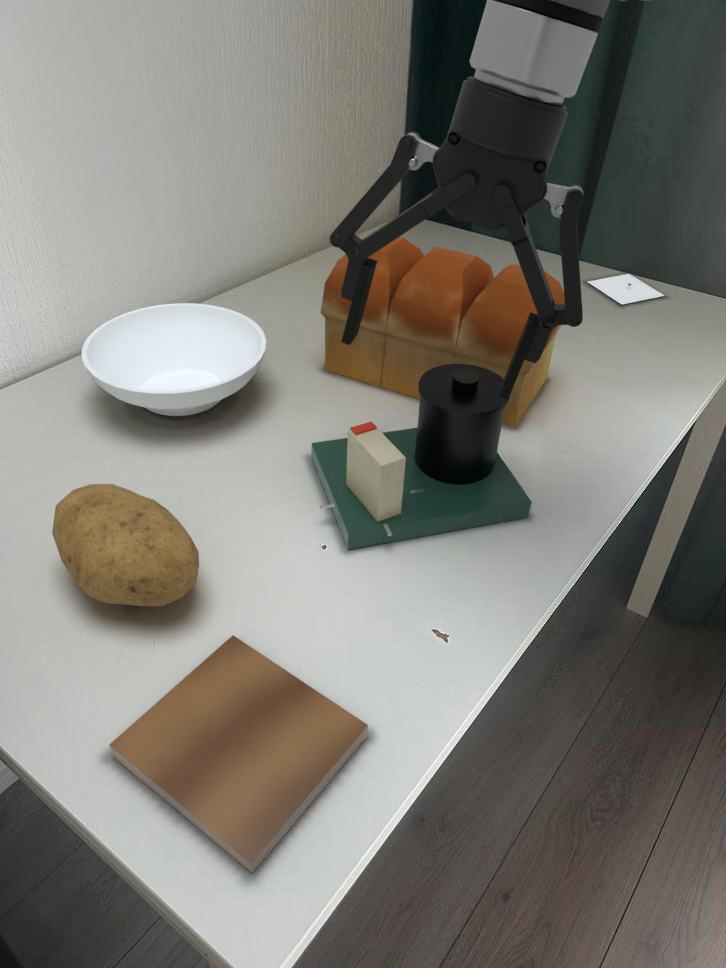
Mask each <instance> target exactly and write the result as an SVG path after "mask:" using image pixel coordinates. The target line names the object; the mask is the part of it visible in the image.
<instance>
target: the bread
mask: <svg viewBox="0 0 726 968" xmlns="http://www.w3.org/2000/svg"><path fill="white" fill-rule="evenodd" d="M368 258H371V259H373V260H376V261H377V265H376V269H375V272H374V276H373V280H372V283H371V287H370V291H369V294H368V298H367V302H366V305H365V309H364V312H363V316H362V320H361V323H360V327H359V331H358V334H357V336H356V337H355V339H354V340H353V341H352V343H351V344H350V345H347V344H345V343H342V342H341V341H342V337H343V333H344V329H345V326H346V322H347V318H348V314H349V310H350V307H351V303H352V301H350V300H347V299H344V298H342V295H341V289H342V285H343V281H344V277H345V273H346V269H347V266H348V257H347V255H346V253H344V255H343V256H342V257H340V258H339V259H338V260H337V261H336V263H335V265H334V266H333V268H332V270H331V272H330V273H329V275H328V277H327V278H326V280H325V282H324V287H323V293H322V298H321V300H322V301H321V307H320V315H321V316H322V317H324V370H325V371H327V372H331V373H334V374H338V375H341V376H344V377H347V378H350V379H353V380H357V381H360V382H364V383H366V384H369V385H373V386H376V387H379V388H383V389H385V390H390V391H392V392H396V393H399V394H402V395H406V396H407V397H408V396H409V397H412V398H414V399H418V400H420V395H419V392H418V384H419V380H420V378H421V376H422V375H423V374H424V373H425V372H427V371H428V370H430V369H432V368H434V367H437V366H441V365H446V364H469V365H475V366H479V367H483V368H486V369H488V370H491V371H493V372H495V373H496V374H498V375H499V376H501V377H502V378H503V379H504V377H505V375H506V372H507V370H508V367H509V365H510V362H511V360H512V357H513V355H514V352H515V350H516V347H517V345H518V342H519V340H520V337H521V334H522V332H523V329H524V327H525V324H526V322H527V319H528V317H529V314H530V312H531V313H534V314H537V315H538V313H537V310H536V308H535V305H534V302H533V299H532V297H531V294H530V291H529V288H528V286H527V283H526V280H525V277H524V275H523V272H522V269H521V266H520V264H517V263H514V262H513V263H511V264H509V265H507V266H506V267H504V268H502V269H501V270H500V272H498V274H497V275H496V276H495V275H494V272H493V269H492V267H491V265H490V264H489V263H488V262H486V261H485V260H484V259H482V258H481V257H479V256H478V255H474V254H469V253H465V252H461V251H457V250H452V249H448V248H444V247H440V246H434V247H433V248H431V249H430V250H429V251H428V252H427V253H426V254H424V252H423V251H422V249H421V248H420V247H418V246H417V245H415V244H414V243H412V242H411V241H409V240H408V239H406V238H405V237H402V236H400V237H398V238H397V239H395V240H394V241H392V242H390V243H389V244H387V245H386V246H384V247H383V248H381V249H380V250H378V251H377V252H375V253H374V254H372V255H371V256H369V257H368ZM544 273H545V276H546V278H547V281H548V284H549V287H550V290H551V293H552V295H553V298H554V301H555V304H565V297H564V288H563V285H562V284H561V282H560V281H559V280H557V278H555V277H554V276H552V275H551V274H550V273H548V272H547V271H545V270H544ZM561 327H562V325H559V326H556V327H555V328H554V329H553V330H552V331H551V334H550V336H549V338H548V341H547V343H546V346H545V348H544V350H543V353H542V355H541V357H540V359H539V360H538V361H537V362H536V363H532V362H529V361H526V360H524V362H523V364H522V367H521V369H520V372H519V374H518V377H517V379H516V382H515V384H514V386H513V389H512V391H511V395H510V400H509V403H508V404H507V406H506V407H505V410H504V415H503V420H502V426H505V427H509V428H511V429H515V428H516V427H517V425H518V424H519V422H520V421H521V419H522V418H523V416H524V415H525V413H526V412H527V411H528V409H529V407H530V405H531V404H532V402H533V401H534V400H535V398H536V396H537V394H539V392H540V390H541V389H542V387H543V386H544V384H545V382H547V378H548V373H549V368H550V365H551V360H552V355H553V350H554V347H555V342H556V337H557V332H559V330H560V328H561Z"/></svg>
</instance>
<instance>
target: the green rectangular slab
mask: <svg viewBox="0 0 726 968" xmlns="http://www.w3.org/2000/svg"><path fill="white" fill-rule="evenodd" d="M382 433H383V434H384V435H385V437H386V438H387V439H388V440H389V441H390V442H391V443H392V444H393V445H394V446H395V447H396V448H397V449H398V450H399V451H400V452H401V453H402V454H403V455H404V456H405V457H406V462H405V474H404V485H403V496H402V507H401V514H399V515H396V516H393V517H390V518H388V519H385V520H382V521H379V522H377V521H376V520H375V518H374V517H373V516H372V515H371V514H370V512H369V511H368V510H367V509H366V508H365V506H364V505H363V504H362V503H361V502H360V500H359V499H358V498H357V497H356V495H355V494H354V493H353V492H352V491H351V489H350V488H349V487H348V486H347V485H346V476H347V442H348V437H344V438H336V439H330V440H323V441H317V442H311V444H310V445H311V447H310V448H311V460H312V463H313V465H314V468H315V470H316V473H317V475H318V478H319V480H320V483H321V486H322V488H323V490H324V493H325V496H326V498H327V500H328V503H327V504H321V505H319V509H320V510H325V509H331V511H332V513H333V515H334V516H333V517H334V518H335V521H336V523H337V526H338V529H339V530H340V533H341V535H342V538H343V541H344V544H345V545H346V548H347V550H348V551H350V550H356V549H360V548H367V547H371V546H377V545H383V544H388V543H394V542H399V541H405V540H409V539H410V540H411V539H416V538H421V537H427V536H432V535H433V536H434V535H438V534H442V533H444V534H445V533H448V532H455V531H461V530H465V529H471V528H476V527H481V526H487V525H493V524H498V523H503V522H508V521H515V520H520V519H525V518H529V516H530V511H531V507H532V503H533V501H532V499H531V498H530V497H529V495H528V494H527V492H526V491H525V489H524V488H523V486H522V485H521V484H520V483H519V481H518V480H517V478H516V477H515V475H514V474H513V472H512V471H511V470H510V468H509V467H508V465H507V464H506V463H505V461H504V460H503V458H502V457H501V456H500V454H499V453H498V452H497V453H496V459H495V464H494V468H493V471H492V472H491V473H490V474H489V475H488V476H487V477H486V478H485V479H483V480H481V481H478V482H475V483H471V484H462V485H459V484H449V483H444V482H440V481H437V480H435V479H433V478H431V477H429V476H427V475H426V474H425V473H423V472H422V471H421V470H420V469H419V467H418V466H417V464H416V462H415V447H416V437H417V427H412V428H406V429H404V428H403V429H398V430H391V431H384V432H382Z"/></svg>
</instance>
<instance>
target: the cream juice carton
mask: <svg viewBox="0 0 726 968" xmlns="http://www.w3.org/2000/svg"><path fill="white" fill-rule="evenodd" d="M383 433H384V432H382V431H381V430H380V429H379V428H378V426H377V425H376V424H375V423H374V422H373V421H368V422H363V423H361V424H357V425H355V426H351V427H350V428H348V429H347V438H348V442H347V476H346V485H347V486H348V487H349V488H350V489H351V491H352V492H353V493H354V494H355V495H356V497H357V498H358V499H359V500H360V502H361V503H362V504H363V505H364V506H365V508H366V509H367V510H368V511H369V512H370V514H371V515H372V516H373V517H374V518H375V520H376V521H377V522H379V521H382V520H385V519H388V518H390V517H393V516H396V515H399V514H401V507H402V496H403V485H404V474H405V462H406V457H405V456H404V455H403V454H402V453H401V452H400V451H399V450H398V449H397V448H396V447H395V446H394V445H393V444H392V443H391V442H390V441H389V440H388V439H387V438H386V437H385V435H384V434H383Z"/></svg>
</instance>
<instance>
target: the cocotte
mask: <svg viewBox="0 0 726 968" xmlns="http://www.w3.org/2000/svg"><path fill="white" fill-rule="evenodd" d="M503 380H504V379H503V378H502V377H501V376H499V375H498V374H496V373H495V372H493V371H491V370H488V369H486V368H483V367H479V366H475V365H469V364H446V365H441V366H437V367H434V368H432V369H430V370H428V371H427V372H425V373H424V374H423V375H422V376H421V378H420V380H419V384H418V392H419V395H420V399H419V405H418V406H419V408H418V418H417V427H416V428H417V437H416V447H415V462H416V464H417V466H418V467H419V469H420V470H421V471H422V472H423V473H425V474H426V475H427V476H429V477H431V478H433V479H435V480H437V481H440V482H444V483H449V484H459V485H462V484H471V483H475V482H478V481H481V480H483V479H485V478H486V477H487V476H488V475H489V474H490V473H491V472H492V471H493V468H494V464H495V459H496V453H498V447H499V443H500V438H501V437H500V435H501V432H502V426H503V425H502V420H503V415H504V410H505V407H506V406H507V404H508V403H509V400H510V396H509V399H508V400H507V399H504V398H501V397H499V395H500V390H501V385H502V382H503ZM510 395H511V394H510Z"/></svg>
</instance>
